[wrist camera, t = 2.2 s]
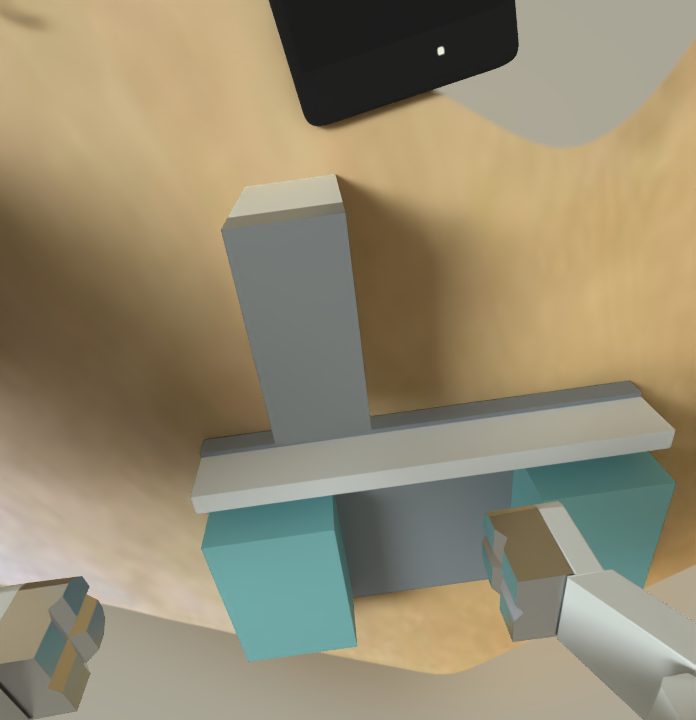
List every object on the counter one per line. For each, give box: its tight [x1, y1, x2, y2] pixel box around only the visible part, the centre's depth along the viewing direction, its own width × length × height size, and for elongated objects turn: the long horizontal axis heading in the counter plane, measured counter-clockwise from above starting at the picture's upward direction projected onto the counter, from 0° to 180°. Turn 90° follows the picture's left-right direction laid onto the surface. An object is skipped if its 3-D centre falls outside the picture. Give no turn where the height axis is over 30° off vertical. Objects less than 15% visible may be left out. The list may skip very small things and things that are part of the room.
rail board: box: [190, 381, 676, 661], centre depth 30 cm, size 25×15×5 cm, turn 97°
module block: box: [221, 174, 372, 445], centre depth 21 cm, size 4×9×7 cm, turn 7°
